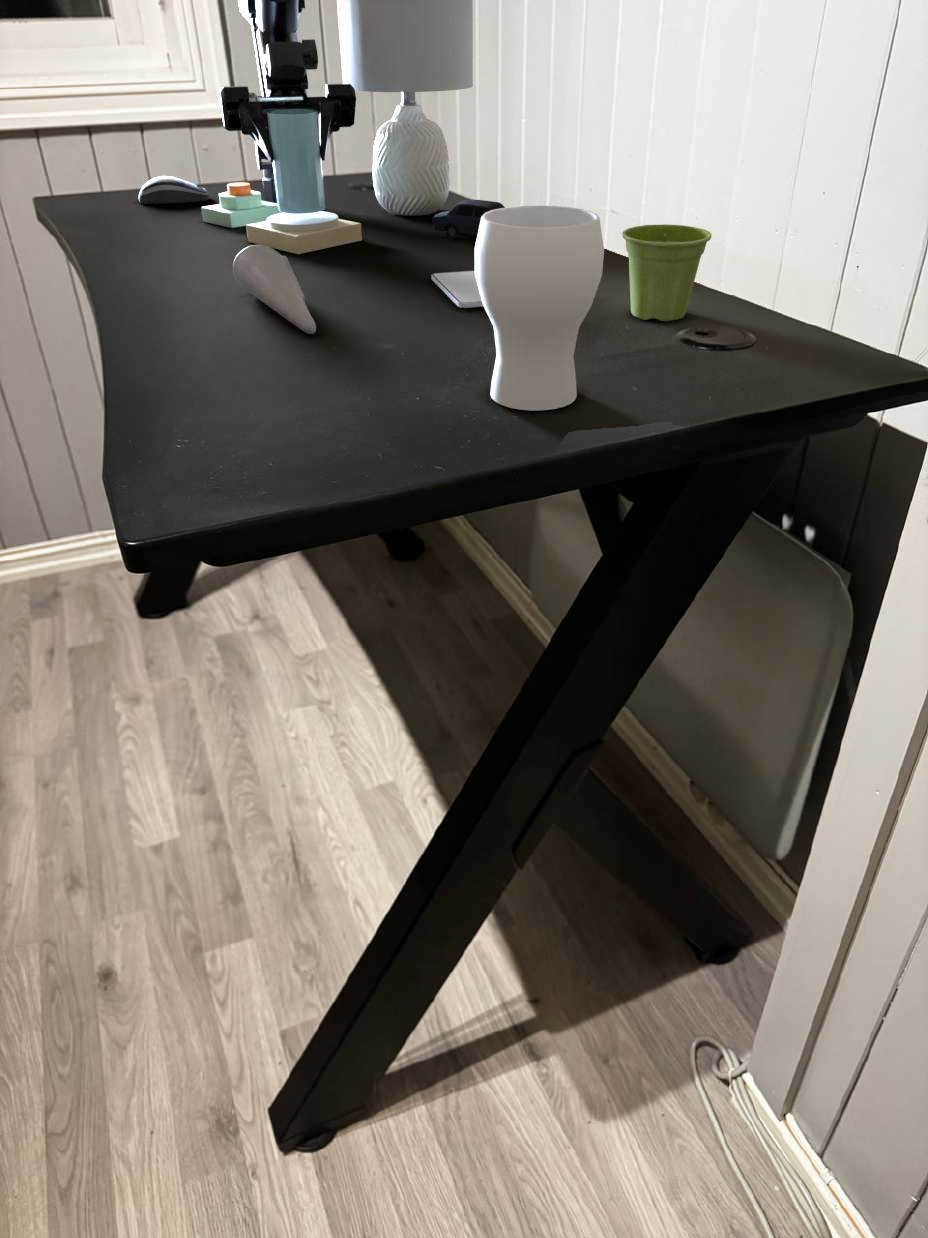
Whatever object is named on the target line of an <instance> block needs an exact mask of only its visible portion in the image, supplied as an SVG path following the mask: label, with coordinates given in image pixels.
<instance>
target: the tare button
mask: <svg viewBox="0 0 928 1238" xmlns="http://www.w3.org/2000/svg"><path fill="white" fill-rule="evenodd" d="M226 187H227V191H228V195H229V196H245V195H251V190H252V189H251V188H252V187H251V183H249V182H229V183H227V185H226Z"/></svg>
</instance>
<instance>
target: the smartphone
mask: <svg viewBox="0 0 928 1238" xmlns="http://www.w3.org/2000/svg"><path fill="white" fill-rule="evenodd" d="M430 278H431V281H432V282H433V283H434V284H435V285H436V286H437V287H438V288H439V289H440V290H441V291H442V292H443V293H444V294H445V295H446V296H447V297H448V298H449V299H450V300H451V301H452V302H453V303H454V304H455V305H456V306H457V307H458V308H460V309H461V308H462V309H469V308H471V309H472V308H482V307H483V308H484V306H483V303H482V300H481V296H480V292H479V288H478V285H477V281H476V277H475V269H474V270H460V271H446V272H445V271H444V272H435V273H432V274H431V277H430Z"/></svg>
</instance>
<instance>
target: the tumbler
mask: <svg viewBox="0 0 928 1238" xmlns="http://www.w3.org/2000/svg"><path fill="white" fill-rule="evenodd" d="M267 117H268V126H269V135H270V143H271V147H272V153H273V170H274V179H275V188H276V197H277V205H278V210H279V211H280V212H282V213H292V214H305V213H314V212H319V211H324V210H325V209H326V196H325V185H324V171H323V161H322V158H321V147H320V130H319V129H320V122H319V114H318V111H316V110H311V109H281V110H272V111H268V112H267Z"/></svg>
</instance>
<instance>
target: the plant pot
mask: <svg viewBox="0 0 928 1238" xmlns="http://www.w3.org/2000/svg"><path fill="white" fill-rule="evenodd" d="M712 235H713V234H712V233H711V232H710V231H709V230H707V229H704V228H700V227H696V226H689V225H685V224H684V225H682V224H666V223H665V224H644V225H636V226H633V227H632V226H631V227H628V228H626V229H625V230H623V231H622V232H621V237H622V238H623V239H624V240H625V250H626V253H627V254H628V273H629V294H630V295H629V296H630V312H631V313H630V314H632V316H634V317H635V318H638V319H640V320H643V321H649V320H650V319H656V320H658V321H659V322H670V321H676V320H677V321H678V320H680V319H682V318H684V317H685V315H686V314H687V312H688V308H689V304H690V302H691V301H690V300H691V296H692V292H693V288H694V284H695V280H696V277H697V272H698V268H699V264H700V261H701V258H702V255H703V254H704V252H705V250H706V247H707V243H708V242H709V241H711V239H712V237H713V236H712Z"/></svg>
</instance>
